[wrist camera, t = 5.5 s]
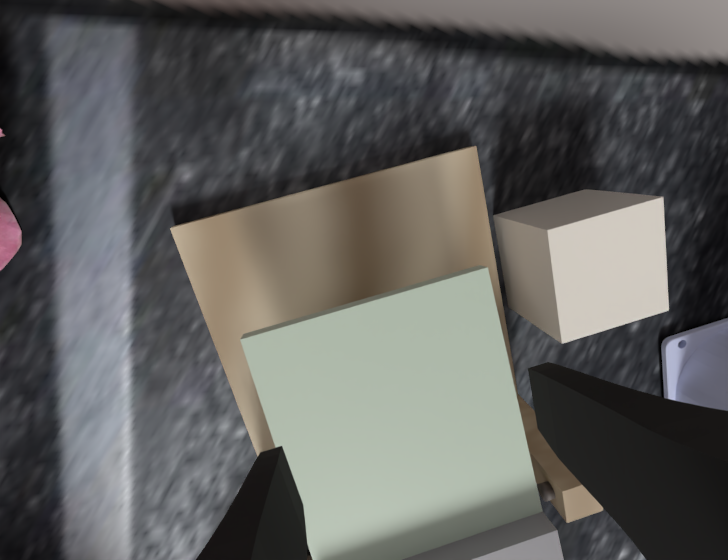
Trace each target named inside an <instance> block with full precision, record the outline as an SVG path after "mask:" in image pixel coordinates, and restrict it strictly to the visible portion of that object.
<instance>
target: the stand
mask: <svg viewBox="0 0 728 560" xmlns="http://www.w3.org/2000/svg"><path fill="white" fill-rule="evenodd" d="M170 230H171V232H172V235H173V237H174V240H175V243H176V245H177V248H178V250H179V253H180V256H181V258H182V261H183V263H184V266H185V269H186V271H187V274H188V276H189V279H190V282H191V284H192V287H193V290H194V292H195V295H196V297H197V300H198V303H199V305H200V308H201V310H202V313H203V316H204V318H205V321H206V323H207V326H208V329H209V331H210V334H211V336H212V339H213V342H214V344H215V347H216V349H217V352H218V355H219V357H220V360H221V362H222V365H223V368H224V370H225V373H226V375H227V378H228V381H229V383H230V386H231V388H232V391H233V394H234V396H235V399H236V401H237V404H238V407H239V409H240V412H241V415H242V417H243V420H244V422H245V425H246V428H247V430H248V433H249V435H250V438H251V441H252V443H253V446H254V448H255V451H256V454H257V456H258V455H259V454H260V452H263V451H267V450H270V449H273V448H276V447H275V444H274V441H273V438H272V435H271V432H270V429H269V426H268V423H267V420H266V417H265V414H264V411H263V408H262V405H261V402H260V399H259V396H258V393H257V390H256V387H255V384H254V381H253V378H252V374H251V371H250V368H249V365H248V362H247V359H246V356H245V353H244V350H243V347H242V344H241V341H240V339H241V337H242V335H243V334H245V333H248V332H252V331H255V330H258V329H262V328H265V327H269V326H272V325H276V324H279V323H282V322H286V321H289V320H293V319H296V318H300V317H303V316H306V315H310V314H313V313H317V312H320V311H324V310H327V309H331V308H334V307H337V306H341V305H344V304H348V303H351V302H355V301H358V300H361V299H365V298H368V297H372V296H375V295H379V294H382V293H385V292H389V291H392V290H396V289H399V288H403V287H406V286H409V285H413V284H416V283H420V282H423V281H427V280H430V279H434V278H437V277H440V276H444V275H447V274H451V273H454V272H458V271H461V270H464V269H468V268H471V267H475V266H478V265H481V266H485V267H488V271H489V275H490V280H491V284H492V288H493V293H494V297H495V302H496V306H497V311H498V315H499V320H500V324H501V329H502V333H503V338H504V342H505V346H506V351H507V355H508V360H509V364H510V369H511V373H512V378H513V382H514V387H515V391H516V396H517V400H518V405H519V409H520V413H521V418H522V422H523V427H524V431H525V436H526V440H527V445H528V449H529V454H530V458H531V463H532V467H533V471H534V476H535V480H536V483H537V484H538V485H537V487H538V491H539V493H540V495H541V497H542V499H543V500H544V501H545V502H547V501H549V500H550V501H551V503H552V504H553V505H554V507H555V508H556V509H557V511H558V512H559V513H560V515H561V516H562V517H563V519H564V520H565V521H566V523H568V522H571V521H574V520H577V519H580V518H583V517H586V516H589V515H592V514H594V513H597V512H600V511H603V507H602V506H601V505H600V504H599V503H598V501H597V500H596V499H595V498H594V497H593V496H592V495H591V494H590V493H589V492H588V491H587V489H586V488H585V487H584V486H583V485H582V484H581V483H580V482H579V481H578V480H577V479H576V477H575V476H574V475H573V474H572V473H571V472H570V471H569V470H568V469H567V467H566V466H565V465H564V464H563V463H562V462H561V461H560V460H559V458H558V457H557V456H556V454H555V453H554V452H553V450H552V449H551V447H550V446H549V445H548V443H547V442H546V440H545V439H544V437H543V436H542V434H541V433H540V431H539V430H538V428H537V422H536V415H535V411H534V410H533V409H532V408H531V407H530V406H529V405H528V404H527V403H526V402H525V401H524V400H523V399H522V398H521V397H520V396H519V395H518V392H517V386H516V380H515V374H514V368H513V362H512V356H511V350H510V344H509V338H508V332H507V326H506V320H505V314H504V308H503V302H502V296H501V291H500V285H499V279H498V273H497V267H496V261H495V255H494V249H493V243H492V237H491V231H490V225H489V219H488V213H487V207H486V201H485V195H484V189H483V184H482V178H481V172H480V166H479V160H478V154H477V148H476V146H470V147H466V148H462V149H458V150H455V151H451V152H447V153H443V154H440V155H436V156H432V157H429V158H425V159H421V160H417V161H414V162H410V163H406V164H402V165H399V166H395V167H391V168H388V169H384V170H380V171H376V172H373V173H369V174H365V175H361V176H358V177H354V178H350V179H347V180H343V181H339V182H335V183H332V184H328V185H324V186H321V187H317V188H313V189H309V190H306V191H302V192H298V193H294V194H291V195H287V196H283V197H280V198H276V199H272V200H268V201H265V202H261V203H257V204H253V205H250V206H246V207H242V208H239V209H235V210H231V211H227V212H224V213H220V214H216V215H212V216H209V217H205V218H201V219H198V220H194V221H190V222H186V223H183V224H179V225H175V226H173V227H171V228H170Z"/></svg>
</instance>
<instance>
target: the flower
mask: <svg viewBox="0 0 728 560" xmlns="http://www.w3.org/2000/svg"><path fill="white" fill-rule="evenodd" d="M3 136H6V135H4V134H3V133H2V129H1V128H0V137H3ZM21 243H22V231H21V229H20V227H19V225H18V223H17V221H16V219H15V217H14V215H13V213H12V212H11V210H10V208H9V207H8V205H7V203H6V202H5V201H3V200H2V199H1V198H0V270H2V269H3V268H4V267H5V266H6V264H7V263H8V262H9V261H10V260H11V259H12V258H13V256H14V255H15V254H16V253H17V251H18V250H19V248H20V246H21Z"/></svg>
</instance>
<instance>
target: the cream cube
mask: <svg viewBox="0 0 728 560" xmlns="http://www.w3.org/2000/svg"><path fill="white" fill-rule="evenodd" d="M493 218H494V224H495V230H496V236H497V242H498V248H499V254H500V260H501V266H502V272H503V278H504V284H505V290H506V296H507V302H508V307H509V308H510V309H512V310H513V311H515V312H516V313H518V314H519V315H521V316H522V317H524V318H525V319H527V320H528V321H529V322H531V323H532V324H534V325H535V326H537V327H538V328H540V329H541V330H543V331H544V332H546V333H547V334H548V335H550V336H551V337H553V338H554V339H556V340H557V341H559V342H560V343H562V344H563V343H566V342H569V341H572V340H575V339H579V338H582V337H585V336H588V335H592V334H595V333H598V332H601V331H604V330H608V329H611V328H614V327H617V326H621V325H624V324H627V323H630V322H633V321H637V320H640V319H643V318H646V317H649V316H653V315H656V314H659V313H662V312H666V311H669V302H668V282H667V262H666V242H665V222H664V202H663V197H659V196H649V195H639V194H629V193H619V192H609V191H599V190H589V189H585V190H581V191H578V192H574V193H570V194H567V195H563V196H560V197H556V198H553V199H549V200H546V201H542V202H539V203H535V204H532V205H528V206H525V207H521V208H517V209H514V210H510V211H507V212H503V213H500V214H496V215H493Z"/></svg>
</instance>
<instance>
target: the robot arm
mask: <svg viewBox="0 0 728 560" xmlns="http://www.w3.org/2000/svg"><path fill="white" fill-rule="evenodd" d="M679 342H680V343H679ZM678 343H679V345H678ZM661 351H662V368H663V386H664V398H663V397H659V396H655V395H651V394H648V393H644V392H641V391H637V390H634V389H630V388H627V387H624V386H620V385H617V384H614V383H611V382H608V381H605V380H602V379H599V378H596V377H593V376H590V375H587V374H584V373H581V372H578V371H575V370H572V369H569V368H566V367H563V366H560V365H556V364H553V363H549V362H547V363H544V364H541V365H538V366H534V367H531V368H528V371H529V377H530V384H531V390H532V396H533V403H534V409H535V415H536V422H537V428H538V430H539V431H540V433H541V434H542V436H543V437H544V439H545V440H546V442H547V443H548V445H549V446H550V447H551V449H552V450H553V452H554V453H555V454H556V456H557V457H558V458H559V460H560V461H561V462H562V463H563V464H564V465H565V466H566V467H567V469H568V470H569V471H570V472H571V473H572V474H573V475H574V476H575V477H576V479H577V480H578V481H579V482H580V483H581V484H582V485H583V486H584V487H585V488H586V489H587V491H588V492H589V493H590V494H591V495H592V496H593V497H594V498H595V499H596V500H597V501H598V503H599V504H600V505H601V506H602V507H603V508H604V509H605V510H606V511H607V512H608V513H609V515H610V516H611V517H612V518H613V519H614V520H615V521H616V522H617V523H618V524H619V526H620V527H621V528H622V529H623V530H624V531H625V533H626V534H627V535H628V536H629V537H630V539H631V540H632V541H633V542H634V544H635V545H636V546H637V548H638V549H639V550H640V552H641V553H642V554H643V555H644V557H645V558H646V559H647V560H728V318H726V319H723V320H720V321H716V322H713V323H710V324H707V325H704V326H701V327H697V328H694V329H691V330H688V331H685V332H682V333H678V334H675V335H672V336H669V337H667V338H665V339H664V340H663V342H662V345H661ZM196 560H307V535H306V525H305V515H304V506H303V503H302V500H301V497H300V494H299V491H298V489H297V486H296V483H295V480H294V478H293V475H292V472H291V469H290V467H289V464H288V461H287V458H286V456H285V453H284V450H283V447H282V446H279V447H276V448H273V449H270V450H267V451H263V452H260V454H259V455H258V457H257V459H256V461H255V462H254V464H253V466H252V468H251V470H250V472H249V474H248V476H247V477H246V479H245V481H244V483H243V485H242V487H241V488H240V490H239V492H238V494H237V496H236V497H235V499H234V501H233V503H232V504H231V506H230V508H229V510H228V511H227V513H226V515H225V516H224V518H223V520H222V521H221V523H220V524H219V526H218V528H217V529H216V531H215V532H214V534H213V535H212V537H211V539H210V540H209V542H208V543H207V545H206V546H205V548H204V549H203V550H202V552H201V553H200V555H199V556H198V557H197V559H196Z"/></svg>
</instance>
